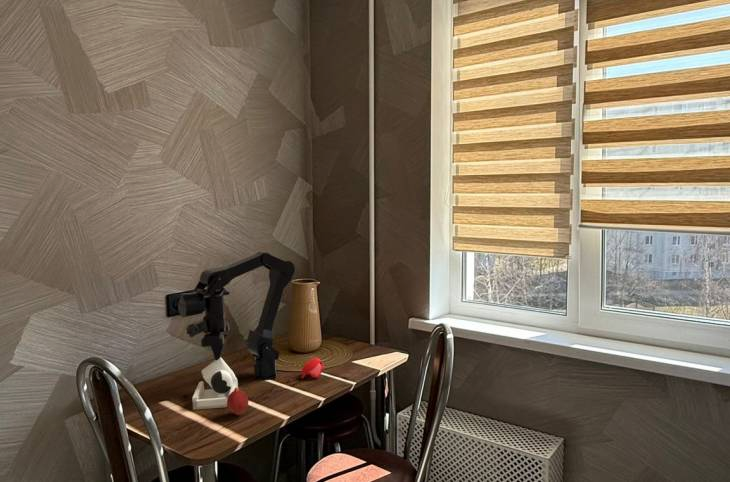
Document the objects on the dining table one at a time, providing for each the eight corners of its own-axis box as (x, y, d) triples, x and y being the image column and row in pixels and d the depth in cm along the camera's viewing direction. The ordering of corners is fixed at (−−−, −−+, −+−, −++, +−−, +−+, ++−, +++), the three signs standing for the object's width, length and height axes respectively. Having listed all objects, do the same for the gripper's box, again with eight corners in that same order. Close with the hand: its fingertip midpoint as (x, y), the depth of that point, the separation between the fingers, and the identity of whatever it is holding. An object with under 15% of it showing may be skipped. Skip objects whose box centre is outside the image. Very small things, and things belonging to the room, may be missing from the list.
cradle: (238, 389, 178) (237, 378, 178) (233, 406, 165) (233, 394, 165) (200, 392, 177) (199, 381, 176) (193, 409, 164) (192, 398, 163)
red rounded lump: (229, 411, 162) (227, 384, 161) (250, 410, 162) (248, 382, 161) (226, 420, 156) (224, 391, 155) (247, 418, 156) (246, 390, 156)
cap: (322, 362, 192) (306, 354, 191) (327, 361, 187) (311, 353, 185) (312, 384, 189) (296, 377, 188) (317, 384, 184) (301, 376, 182)
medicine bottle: (215, 387, 179) (220, 401, 168) (200, 371, 177) (205, 383, 166) (233, 372, 181) (240, 384, 169) (219, 355, 179) (225, 367, 167)
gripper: (192, 305, 184) (195, 353, 185) (181, 320, 165) (185, 372, 167) (228, 303, 185) (230, 350, 187) (221, 317, 167) (224, 369, 168)
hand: (217, 360), depth 177 cm, fingers closed
